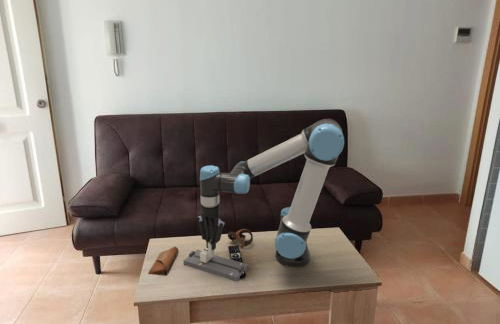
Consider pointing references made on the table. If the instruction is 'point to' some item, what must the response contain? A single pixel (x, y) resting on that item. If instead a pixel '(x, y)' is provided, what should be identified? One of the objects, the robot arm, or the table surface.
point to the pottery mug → (239, 235)
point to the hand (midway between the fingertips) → (211, 255)
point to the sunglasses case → (164, 262)
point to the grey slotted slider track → (217, 265)
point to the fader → (205, 256)
